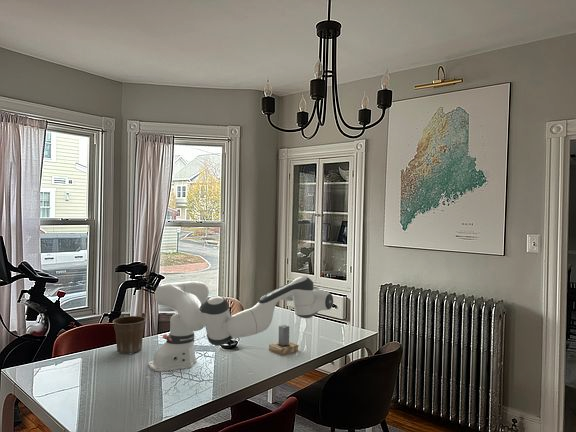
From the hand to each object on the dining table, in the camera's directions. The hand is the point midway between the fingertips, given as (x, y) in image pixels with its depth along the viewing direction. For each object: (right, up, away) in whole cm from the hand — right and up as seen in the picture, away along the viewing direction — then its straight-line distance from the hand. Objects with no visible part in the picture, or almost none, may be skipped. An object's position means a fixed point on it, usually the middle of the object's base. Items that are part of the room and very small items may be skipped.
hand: (286, 291), depth 225 cm
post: (-2, -34, +13) cm, 36 cm away
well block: (-2, -34, +13) cm, 36 cm away
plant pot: (-83, -33, +9) cm, 89 cm away
